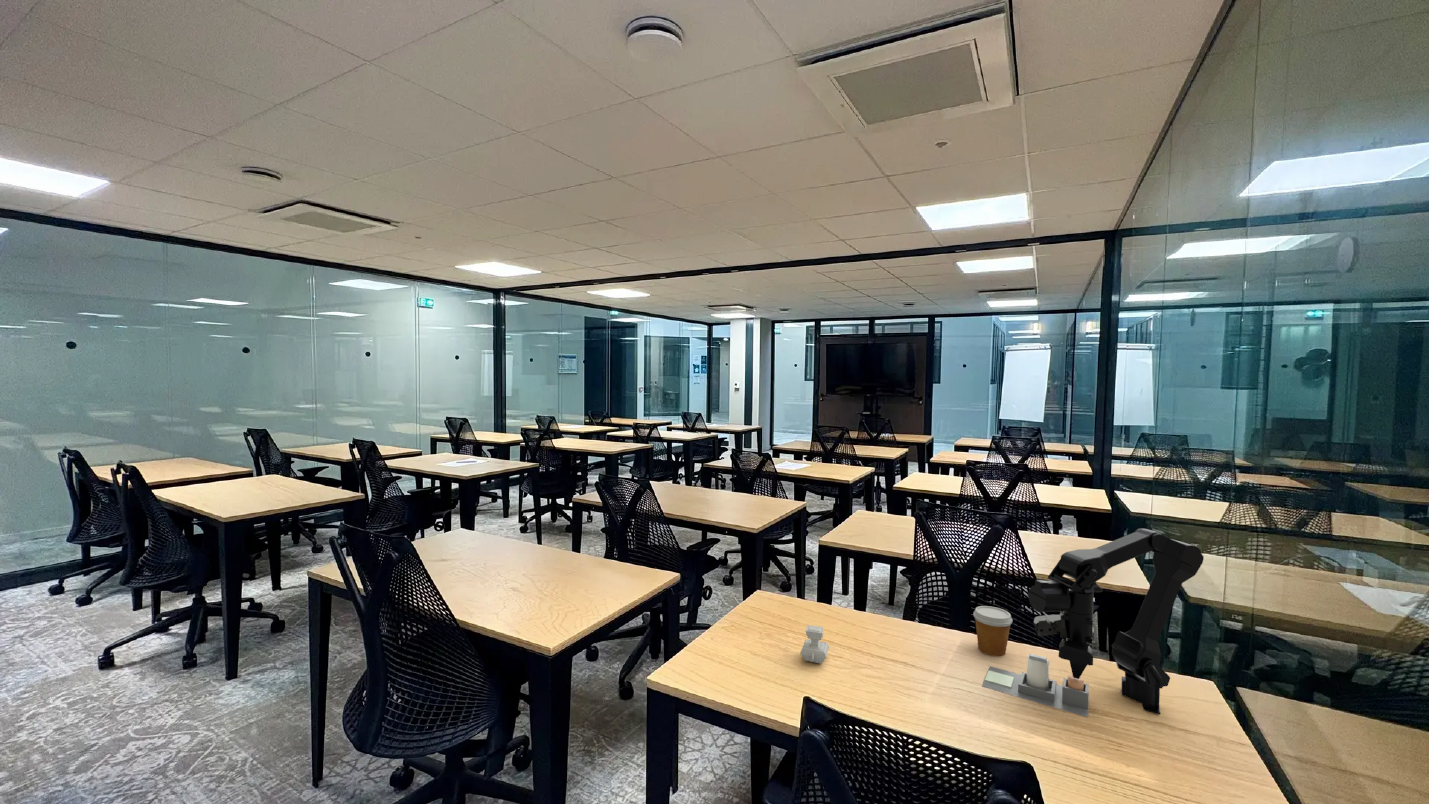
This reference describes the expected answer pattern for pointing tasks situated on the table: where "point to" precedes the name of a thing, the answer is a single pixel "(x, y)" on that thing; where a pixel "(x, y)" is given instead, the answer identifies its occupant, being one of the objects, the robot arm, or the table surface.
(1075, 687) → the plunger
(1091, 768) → the table surface
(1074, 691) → the housing
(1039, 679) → the cartridge
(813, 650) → the stamp
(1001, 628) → the disposable coffee cup
